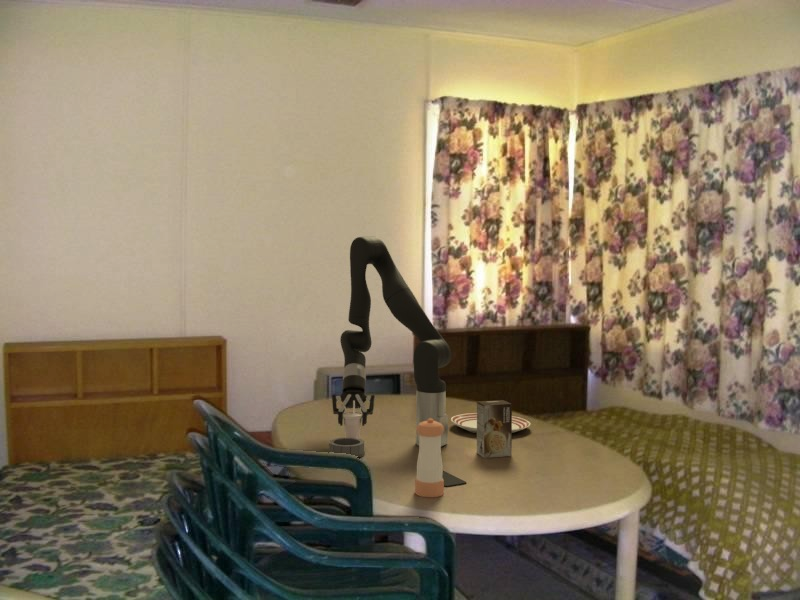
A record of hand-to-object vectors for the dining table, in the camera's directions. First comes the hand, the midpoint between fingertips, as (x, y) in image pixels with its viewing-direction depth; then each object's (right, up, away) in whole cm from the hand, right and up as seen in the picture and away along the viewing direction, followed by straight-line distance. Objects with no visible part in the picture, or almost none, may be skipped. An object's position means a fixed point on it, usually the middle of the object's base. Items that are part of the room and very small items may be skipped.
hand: (352, 424), depth 245 cm
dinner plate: (+46, -6, +26) cm, 53 cm away
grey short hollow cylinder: (-1, -7, -10) cm, 12 cm away
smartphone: (+26, -10, -33) cm, 43 cm away
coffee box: (+43, -8, -8) cm, 45 cm away
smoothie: (0, -7, +2) cm, 7 cm away
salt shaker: (+22, -10, -46) cm, 52 cm away
